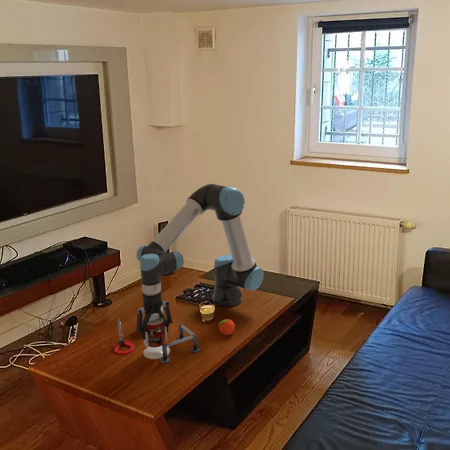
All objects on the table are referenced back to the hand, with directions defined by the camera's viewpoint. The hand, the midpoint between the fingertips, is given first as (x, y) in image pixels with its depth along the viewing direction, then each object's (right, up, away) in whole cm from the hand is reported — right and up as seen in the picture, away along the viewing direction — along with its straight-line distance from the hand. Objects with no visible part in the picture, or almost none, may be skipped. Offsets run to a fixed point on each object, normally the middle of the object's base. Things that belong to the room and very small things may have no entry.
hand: (155, 342), depth 228 cm
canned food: (0, 0, 0) cm, 0 cm away
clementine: (+29, 0, +14) cm, 33 cm away
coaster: (0, -4, +1) cm, 5 cm away
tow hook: (-14, -4, +5) cm, 16 cm away
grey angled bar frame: (+7, -4, +3) cm, 9 cm away
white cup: (-3, +2, +24) cm, 25 cm away
